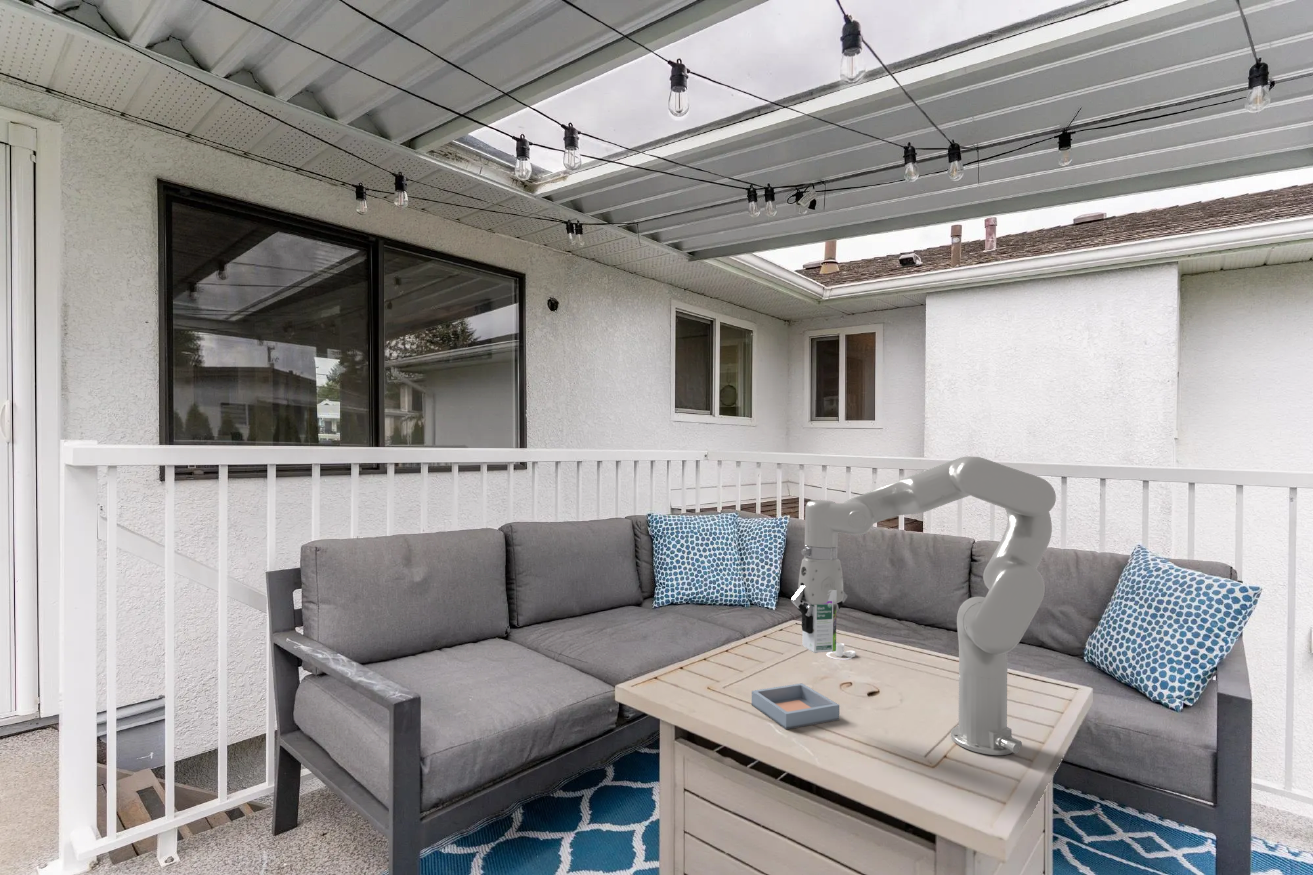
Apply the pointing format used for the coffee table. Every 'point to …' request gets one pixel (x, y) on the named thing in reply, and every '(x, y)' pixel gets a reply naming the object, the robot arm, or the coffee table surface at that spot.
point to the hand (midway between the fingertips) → (819, 629)
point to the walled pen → (795, 706)
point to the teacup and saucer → (842, 652)
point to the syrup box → (823, 626)
